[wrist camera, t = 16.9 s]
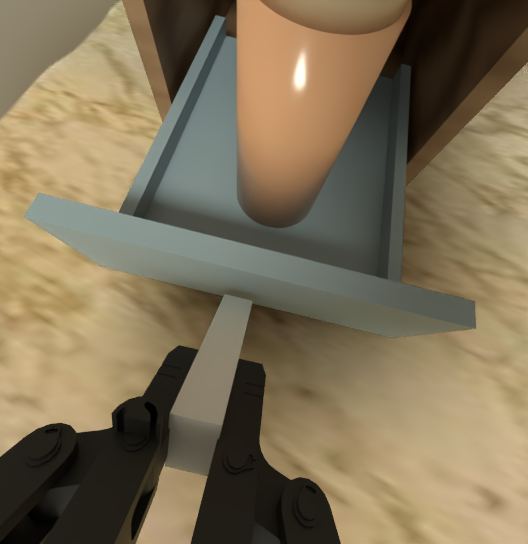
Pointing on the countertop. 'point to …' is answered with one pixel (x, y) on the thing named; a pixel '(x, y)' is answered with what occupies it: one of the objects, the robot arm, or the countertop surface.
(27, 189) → the countertop surface
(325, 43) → the jar
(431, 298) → the tray
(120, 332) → the countertop surface
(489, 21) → the block
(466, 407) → the countertop surface
